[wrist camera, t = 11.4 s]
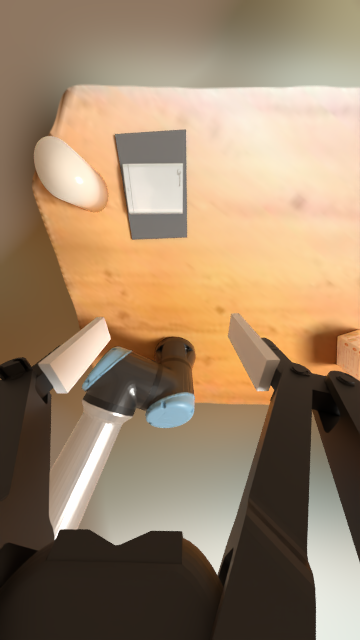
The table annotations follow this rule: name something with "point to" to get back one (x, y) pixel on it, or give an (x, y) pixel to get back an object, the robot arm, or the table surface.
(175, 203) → the hard drive
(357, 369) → the coffeecake box
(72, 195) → the cream rounded cylinder
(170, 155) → the mat
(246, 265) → the table surface
